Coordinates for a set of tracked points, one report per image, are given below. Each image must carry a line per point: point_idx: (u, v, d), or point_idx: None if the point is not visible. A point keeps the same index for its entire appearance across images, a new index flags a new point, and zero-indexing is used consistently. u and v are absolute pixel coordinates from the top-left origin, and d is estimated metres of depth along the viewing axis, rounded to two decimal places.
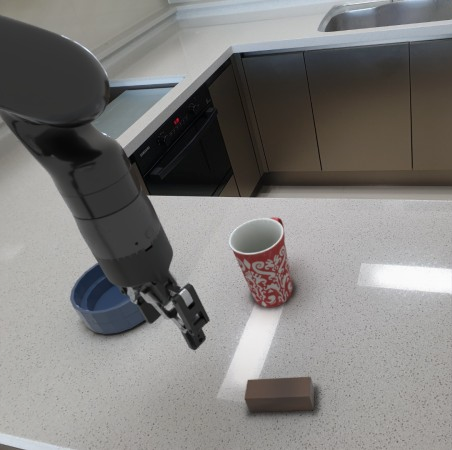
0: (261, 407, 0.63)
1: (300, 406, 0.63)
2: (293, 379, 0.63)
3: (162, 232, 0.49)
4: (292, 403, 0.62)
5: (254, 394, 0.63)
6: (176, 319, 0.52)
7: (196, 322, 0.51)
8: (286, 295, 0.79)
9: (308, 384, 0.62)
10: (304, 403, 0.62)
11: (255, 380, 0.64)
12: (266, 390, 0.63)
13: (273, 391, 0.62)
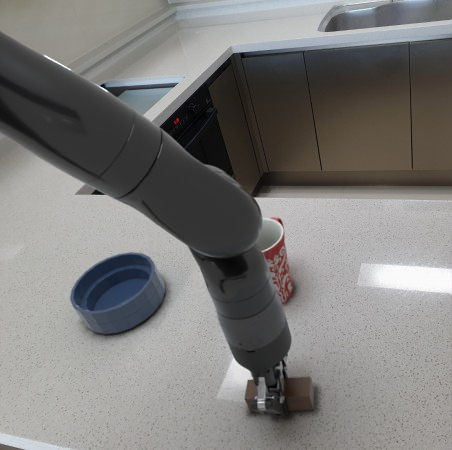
0: None
1: (300, 406, 0.63)
2: (293, 379, 0.63)
3: (274, 344, 0.52)
4: (292, 403, 0.62)
5: (254, 394, 0.63)
6: None
7: None
8: (286, 295, 0.79)
9: (308, 384, 0.62)
10: (304, 403, 0.62)
11: None
12: None
13: None
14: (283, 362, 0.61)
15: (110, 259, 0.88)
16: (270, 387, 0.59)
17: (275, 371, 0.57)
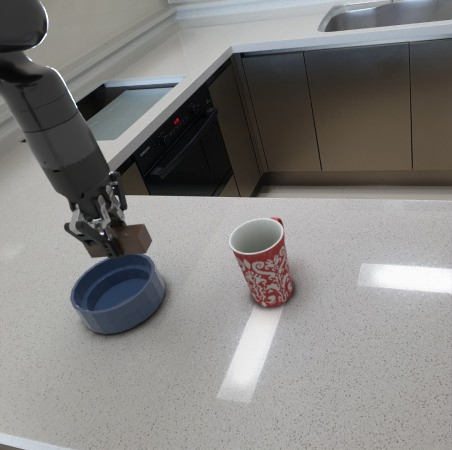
0: (99, 251, 0.69)
1: (133, 249, 0.68)
2: (128, 226, 0.69)
3: (79, 165, 0.58)
4: (124, 245, 0.68)
5: None
6: None
7: (92, 239, 0.64)
8: (286, 295, 0.79)
9: (140, 228, 0.68)
10: (135, 245, 0.68)
11: None
12: None
13: None
14: (113, 205, 0.66)
15: (110, 259, 0.88)
16: (95, 222, 0.64)
17: (95, 203, 0.63)
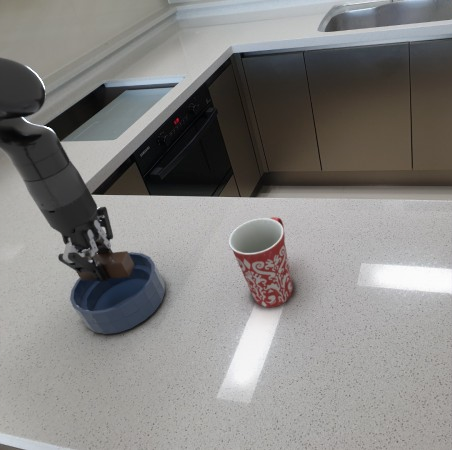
0: (88, 275, 0.80)
1: (118, 273, 0.79)
2: (114, 253, 0.80)
3: (71, 206, 0.69)
4: (110, 270, 0.79)
5: None
6: None
7: (83, 266, 0.75)
8: (286, 295, 0.79)
9: (123, 255, 0.79)
10: (120, 270, 0.79)
11: None
12: None
13: None
14: (100, 236, 0.78)
15: None
16: (85, 252, 0.76)
17: (84, 236, 0.74)
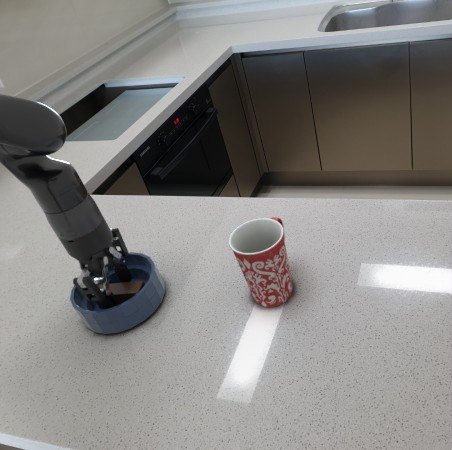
0: None
1: None
2: (130, 283, 0.85)
3: (88, 236, 0.73)
4: (127, 299, 0.83)
5: None
6: None
7: (93, 296, 0.77)
8: (286, 295, 0.79)
9: (139, 285, 0.84)
10: None
11: None
12: None
13: (114, 290, 0.84)
14: (116, 258, 0.82)
15: None
16: (98, 279, 0.78)
17: (100, 263, 0.77)
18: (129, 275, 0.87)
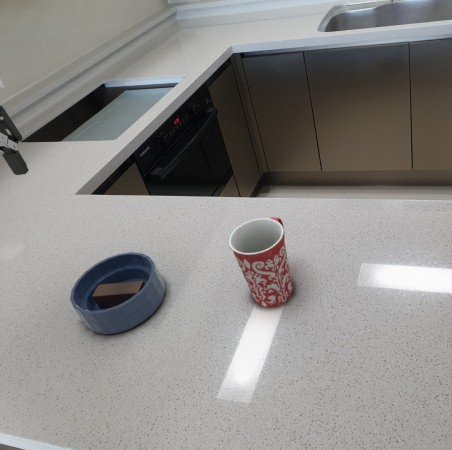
0: (106, 304, 0.85)
1: None
2: (130, 283, 0.85)
3: None
4: (127, 299, 0.83)
5: (100, 293, 0.84)
6: None
7: None
8: (286, 295, 0.79)
9: (139, 285, 0.84)
10: None
11: (103, 284, 0.85)
12: (109, 290, 0.84)
13: (114, 290, 0.84)
14: (0, 141, 0.67)
15: (110, 259, 0.88)
16: None
17: None
18: (24, 166, 0.71)
